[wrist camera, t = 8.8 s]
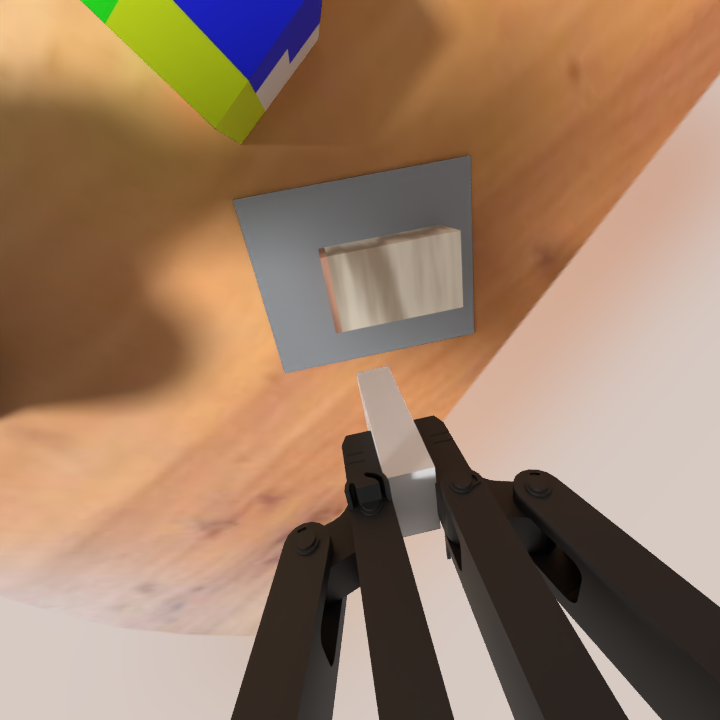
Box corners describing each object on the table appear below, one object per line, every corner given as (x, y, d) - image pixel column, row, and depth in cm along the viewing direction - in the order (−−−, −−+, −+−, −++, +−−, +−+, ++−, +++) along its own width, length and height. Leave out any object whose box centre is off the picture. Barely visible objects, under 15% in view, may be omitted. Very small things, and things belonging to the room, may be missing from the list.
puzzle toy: (318, 39, 28) (324, -28, 19) (241, 144, 30) (214, 128, 22) (206, -99, 24) (148, -262, 15) (127, 34, 27) (37, -41, 18)
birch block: (336, 333, 33) (463, 307, 34) (320, 258, 30) (460, 230, 31) (332, 315, 38) (444, 292, 38) (318, 248, 35) (440, 224, 35)
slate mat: (285, 371, 40) (284, 373, 40) (233, 199, 32) (232, 199, 32) (472, 332, 41) (474, 333, 41) (468, 155, 33) (470, 155, 33)
